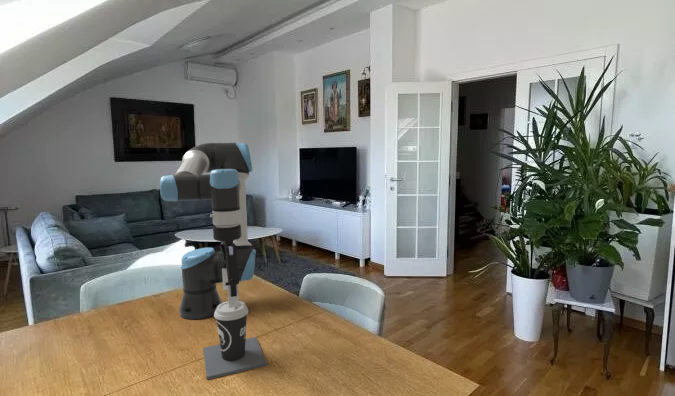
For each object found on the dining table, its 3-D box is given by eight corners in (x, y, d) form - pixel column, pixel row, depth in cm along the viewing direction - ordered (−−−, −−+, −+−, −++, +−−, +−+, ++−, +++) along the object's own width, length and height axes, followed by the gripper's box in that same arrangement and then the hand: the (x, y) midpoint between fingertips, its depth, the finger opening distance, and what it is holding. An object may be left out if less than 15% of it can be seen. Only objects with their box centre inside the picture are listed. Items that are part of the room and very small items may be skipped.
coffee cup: (241, 366, 104) (238, 314, 102) (210, 362, 106) (206, 312, 104) (255, 348, 113) (253, 300, 111) (226, 345, 115) (223, 298, 113)
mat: (203, 350, 114) (203, 347, 114) (256, 339, 120) (256, 336, 120) (206, 379, 99) (206, 376, 99) (266, 365, 105) (266, 362, 105)
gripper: (209, 218, 114) (213, 284, 117) (216, 235, 91) (221, 318, 94) (234, 216, 117) (237, 281, 120) (248, 232, 94) (251, 312, 97)
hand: (230, 297), depth 107 cm, fingers open, 13 cm apart
